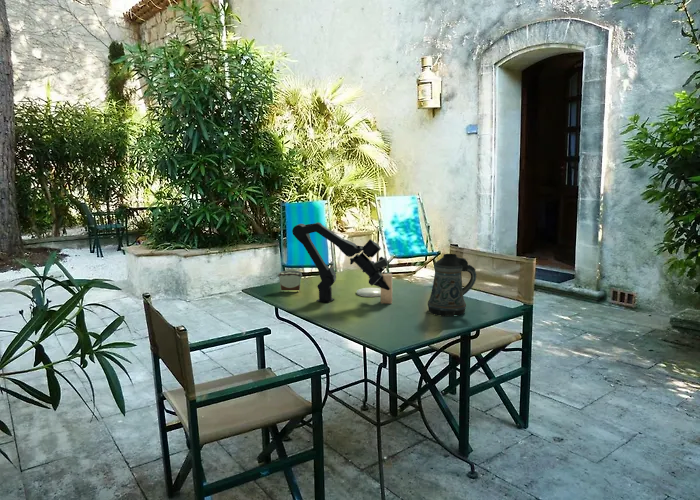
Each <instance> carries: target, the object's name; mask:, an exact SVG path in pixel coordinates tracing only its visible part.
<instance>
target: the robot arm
mask: <svg viewBox="0 0 700 500" xmlns="http://www.w3.org/2000/svg"><path fill="white" fill-rule="evenodd" d="M291 233H292V235H293V237H295V238H296V240H297V241H298V242H299V243H301V244H302V245H303V247H304V248H305V250H306V252H307V254H308V255H309V257H310V259H311V260H312V262H313V263H314V264H313V265H315V267H316V268H317V270H318V274H319V277H320V281H319V283H318V285H316V287H317V289H318V299H316V302H317V301H318V302H319V303H328V304H329V303H330V302H333V301H335V300H336V299H335V298H333V295H332V294H333V291H332V289H333V288H332V286H333V285H334V283H335V282H336V280H337V275H336V274H337V272H335V270H334V267H333V266H330V267H329V266H328V265H327V264H326V263H325V261H324V259H323V257H322V255H320V252H319V251H318V249H317V248H316V246H315V244H314V242H313V241H312V239H311V236H310V234H313V233H317V234H319V235H321V236H322V237H323V238H325V239H326V240H328V241H330V243H332V244H333V245H335V246H336V247H337V248H338V249H339V250H340V252H342V253H343V254H344V255H345V256H346V257H349V258H350V259H349V261H350V262H349V264H350V266H351V265H353V264H354V263H355V264H356V265H357V267H359V268H360V269H361V270H362V273H363V274H364V273H365V274H366V275H367V276H368V284H369V285H370V286H371V287H372V286H375V287H377V288H380V289H381V288H383V289H386V290H389V289H390V288H389V287H388V285H387V284H386V282H385V281H384V280H383V275H381V274H382V273H385V274H386V271H385V267H387V266H389V262H388V259H387V257H383V256H380V257H379V258H378V260H377V261H373V260H371V259H370V258H374V257H375V255H377V254H378V253H379V252H380V251H381V250H382V248H381V246H380V245H379V244H378V243H377V242H375V241H373V239H371V238H370V239H368V241H367V242H366V243H365V244H364V245H358V244H356V243H354V242H352V241H349V240H348V239H345V238H342V237H341V236H339V235H338V234H336V233H335V232H334V231H332V230H330V229H329V228H327V227H326V226H325V225H323V224H322V223H321V222H315V223H309V224H304V223H299V224H297V225H295V226H293V228H292V231H291Z"/></svg>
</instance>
